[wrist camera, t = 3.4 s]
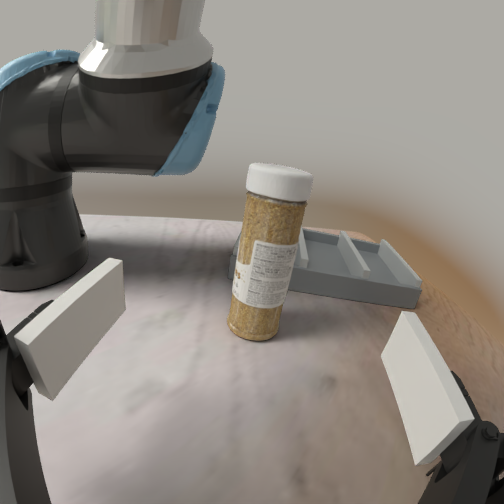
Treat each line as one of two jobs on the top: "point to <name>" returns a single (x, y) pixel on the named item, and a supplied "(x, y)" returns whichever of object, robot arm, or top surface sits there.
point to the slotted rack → (349, 270)
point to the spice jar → (267, 248)
